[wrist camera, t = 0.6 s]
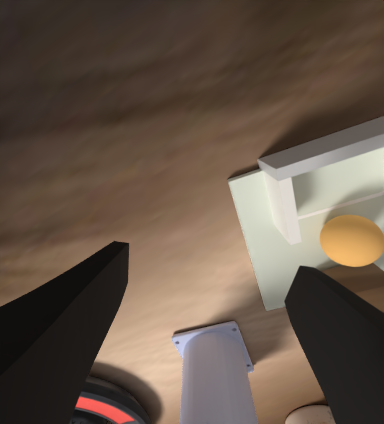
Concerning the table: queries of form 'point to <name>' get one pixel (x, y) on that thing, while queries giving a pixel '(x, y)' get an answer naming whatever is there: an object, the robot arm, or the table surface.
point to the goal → (312, 168)
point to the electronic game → (107, 405)
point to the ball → (352, 240)
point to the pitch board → (306, 218)
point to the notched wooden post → (361, 282)
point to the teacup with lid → (311, 415)
